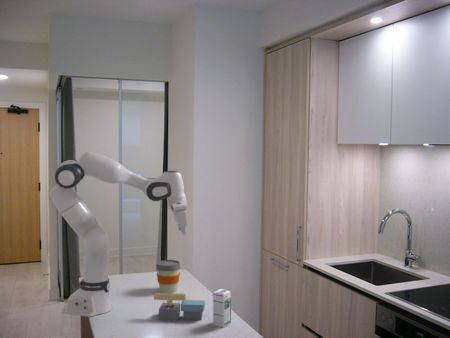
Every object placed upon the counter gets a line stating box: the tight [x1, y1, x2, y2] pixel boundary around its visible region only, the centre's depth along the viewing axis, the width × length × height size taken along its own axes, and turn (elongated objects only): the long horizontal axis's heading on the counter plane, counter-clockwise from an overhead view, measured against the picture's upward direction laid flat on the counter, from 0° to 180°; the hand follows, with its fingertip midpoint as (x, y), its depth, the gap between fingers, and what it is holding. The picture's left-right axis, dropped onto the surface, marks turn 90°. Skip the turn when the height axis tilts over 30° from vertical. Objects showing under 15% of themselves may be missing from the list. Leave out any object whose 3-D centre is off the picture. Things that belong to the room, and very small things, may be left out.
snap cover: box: [180, 299, 206, 313], centre depth 203 cm, size 10×6×3 cm, turn 86°
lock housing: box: [158, 302, 203, 322], centre depth 204 cm, size 18×8×5 cm, turn 86°
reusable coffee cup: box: [155, 259, 181, 293], centre depth 240 cm, size 13×13×15 cm
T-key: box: [153, 292, 187, 308], centre depth 204 cm, size 14×2×10 cm, turn 86°
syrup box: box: [212, 288, 232, 328], centre depth 196 cm, size 6×6×14 cm
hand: (182, 232), depth 217 cm, fingers open, 8 cm apart
